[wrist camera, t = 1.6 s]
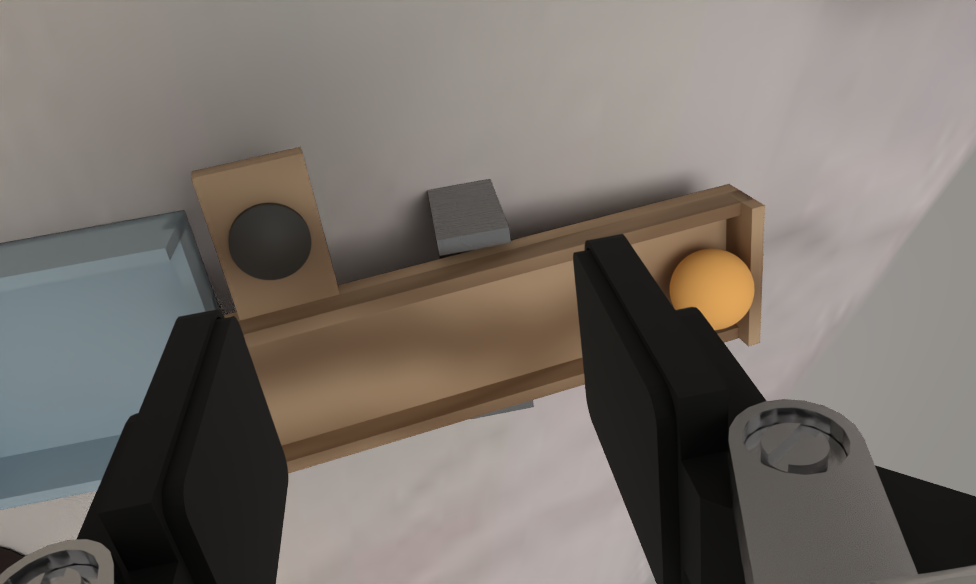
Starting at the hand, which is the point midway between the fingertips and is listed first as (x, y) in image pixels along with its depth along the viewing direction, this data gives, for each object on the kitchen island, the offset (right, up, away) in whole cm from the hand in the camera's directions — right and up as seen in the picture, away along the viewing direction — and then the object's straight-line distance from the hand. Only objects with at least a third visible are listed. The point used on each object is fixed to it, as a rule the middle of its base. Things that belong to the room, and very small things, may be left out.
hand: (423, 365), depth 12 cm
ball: (+11, +1, +24) cm, 26 cm away
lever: (0, +3, +23) cm, 24 cm away
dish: (-19, -1, +27) cm, 33 cm away
